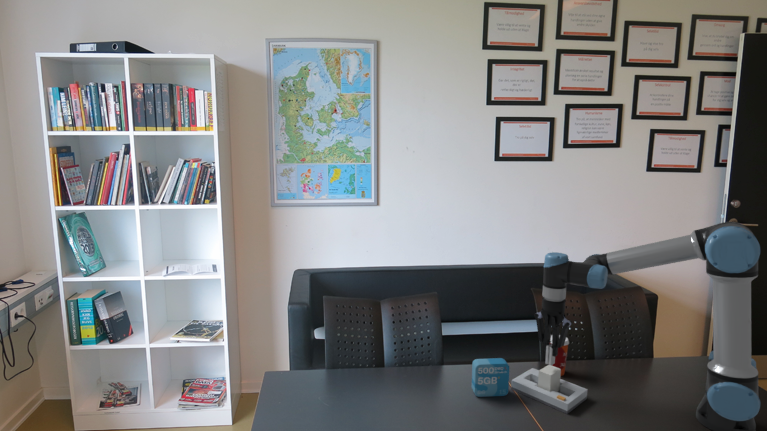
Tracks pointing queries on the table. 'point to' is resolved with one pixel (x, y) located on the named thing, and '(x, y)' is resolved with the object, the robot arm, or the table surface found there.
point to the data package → (490, 377)
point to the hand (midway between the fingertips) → (550, 363)
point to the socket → (559, 400)
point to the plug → (549, 378)
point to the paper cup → (561, 356)
